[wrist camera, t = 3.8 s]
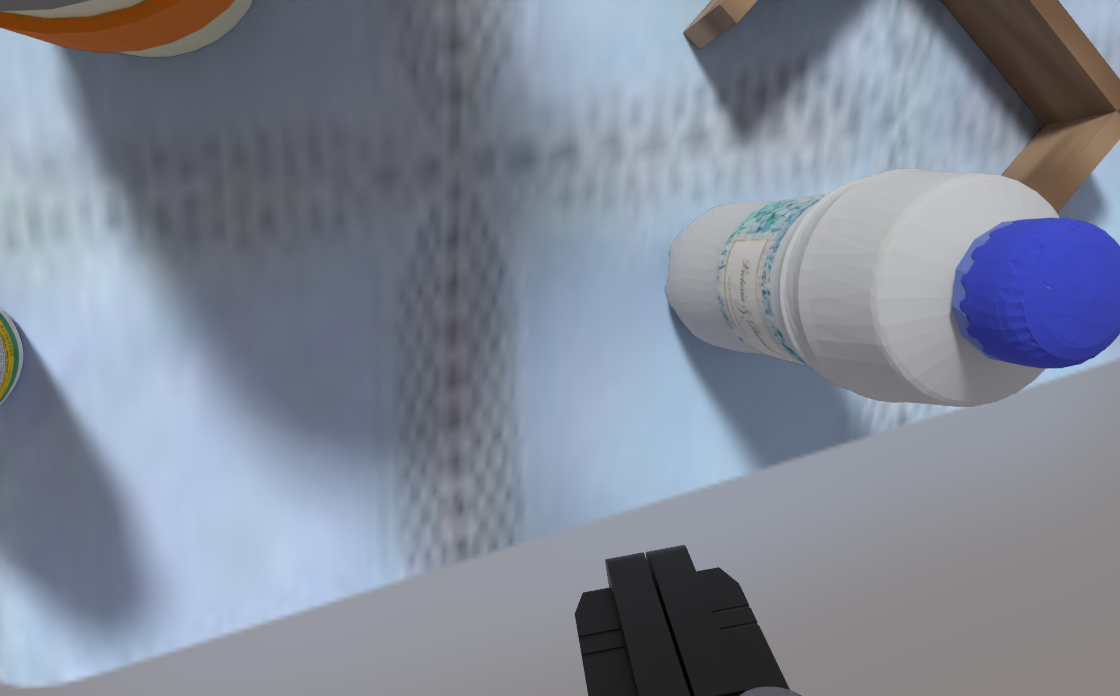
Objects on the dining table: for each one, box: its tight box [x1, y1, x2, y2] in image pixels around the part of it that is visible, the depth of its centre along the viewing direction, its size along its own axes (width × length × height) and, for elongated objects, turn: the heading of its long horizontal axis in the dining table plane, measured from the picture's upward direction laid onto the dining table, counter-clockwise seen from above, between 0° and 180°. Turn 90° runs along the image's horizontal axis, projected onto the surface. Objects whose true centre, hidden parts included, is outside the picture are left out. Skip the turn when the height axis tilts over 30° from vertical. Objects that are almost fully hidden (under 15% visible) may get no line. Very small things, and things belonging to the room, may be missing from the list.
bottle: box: [665, 169, 1120, 407], centre depth 26 cm, size 7×7×20 cm
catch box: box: [683, 0, 1120, 213], centre depth 35 cm, size 11×17×4 cm, turn 48°
